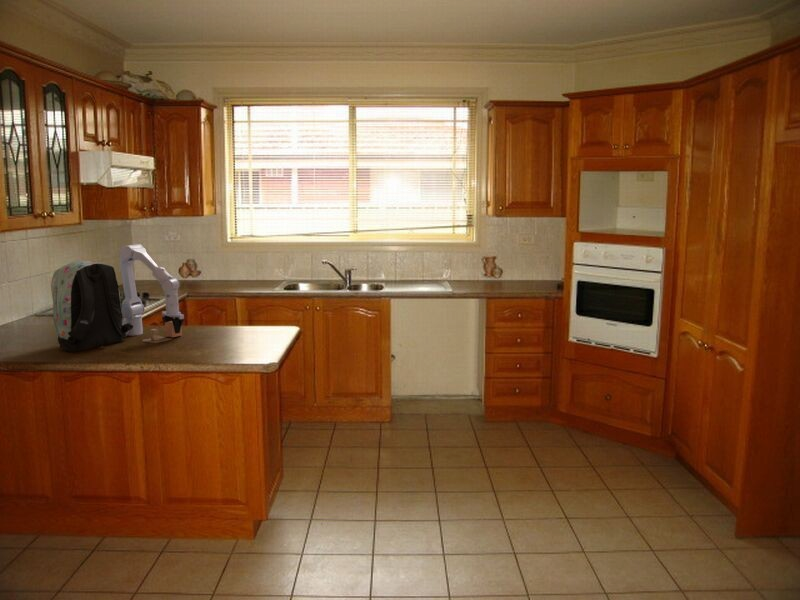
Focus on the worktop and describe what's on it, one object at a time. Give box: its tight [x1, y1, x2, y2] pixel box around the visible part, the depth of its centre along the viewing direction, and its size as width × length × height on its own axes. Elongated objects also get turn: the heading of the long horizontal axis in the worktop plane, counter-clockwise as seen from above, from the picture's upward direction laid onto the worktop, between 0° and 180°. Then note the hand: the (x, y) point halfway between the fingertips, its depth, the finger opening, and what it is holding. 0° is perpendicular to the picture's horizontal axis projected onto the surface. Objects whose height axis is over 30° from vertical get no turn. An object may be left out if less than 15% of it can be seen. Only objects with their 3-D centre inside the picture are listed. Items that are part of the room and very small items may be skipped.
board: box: [141, 335, 173, 344], centre depth 307 cm, size 10×10×1 cm
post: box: [150, 328, 160, 341], centre depth 306 cm, size 3×3×5 cm
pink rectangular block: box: [164, 321, 183, 338], centre depth 312 cm, size 5×5×7 cm
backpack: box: [50, 259, 133, 353], centre depth 297 cm, size 32×24×39 cm
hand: (173, 332), depth 312 cm, fingers closed on pink rectangular block, 5 cm apart
